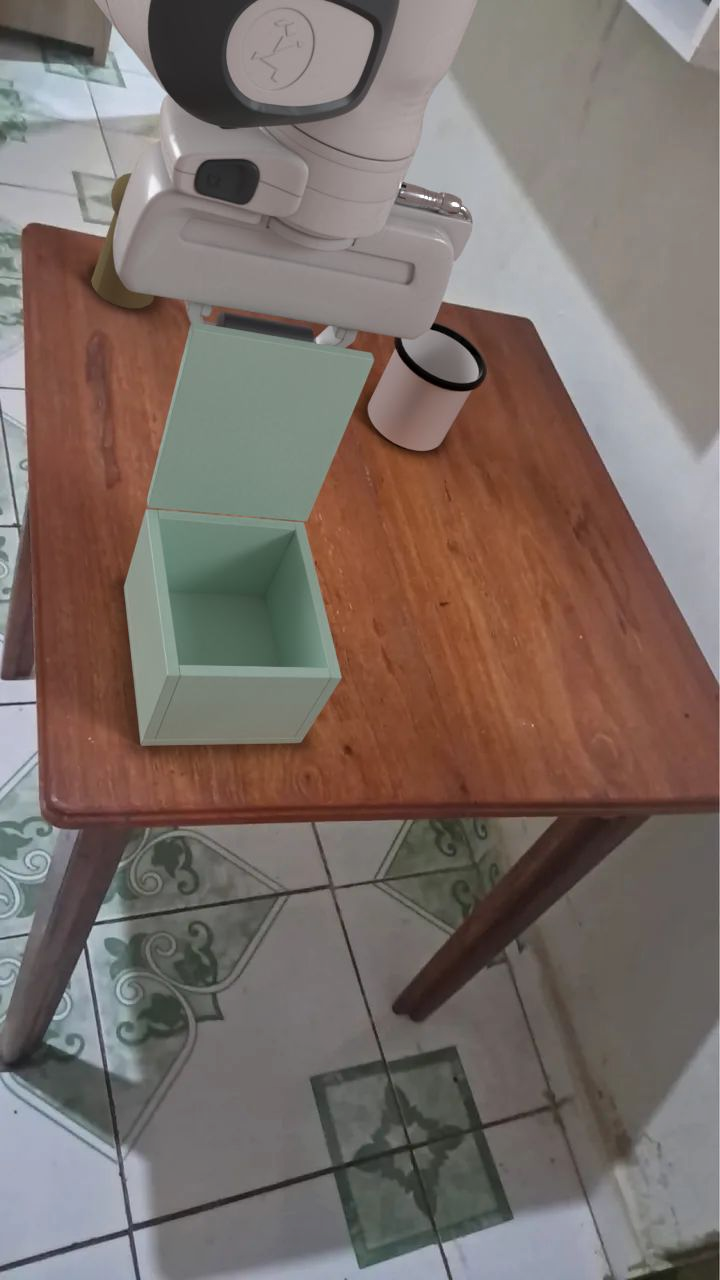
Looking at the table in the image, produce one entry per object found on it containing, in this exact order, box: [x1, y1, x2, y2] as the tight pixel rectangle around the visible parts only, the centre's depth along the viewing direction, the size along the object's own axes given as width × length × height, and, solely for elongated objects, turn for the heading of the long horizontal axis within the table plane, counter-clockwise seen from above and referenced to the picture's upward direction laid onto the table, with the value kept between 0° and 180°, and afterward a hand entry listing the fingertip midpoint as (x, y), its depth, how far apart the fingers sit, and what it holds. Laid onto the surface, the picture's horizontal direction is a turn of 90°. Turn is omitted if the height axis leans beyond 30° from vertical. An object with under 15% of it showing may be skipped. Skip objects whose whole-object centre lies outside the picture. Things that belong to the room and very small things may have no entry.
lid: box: [146, 311, 375, 522], centre depth 64 cm, size 14×12×5 cm
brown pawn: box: [91, 172, 155, 309], centre depth 88 cm, size 6×6×11 cm
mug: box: [367, 321, 488, 452], centre depth 94 cm, size 12×10×9 cm
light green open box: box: [123, 508, 343, 747], centre depth 67 cm, size 14×12×9 cm
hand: (255, 360), depth 63 cm, fingers closed on lid, 6 cm apart
